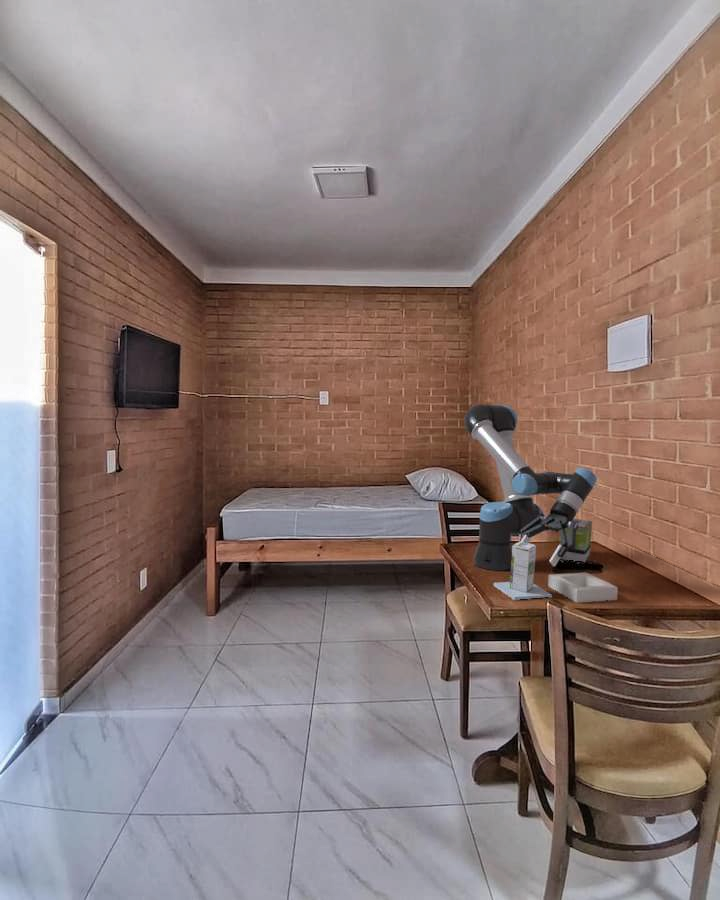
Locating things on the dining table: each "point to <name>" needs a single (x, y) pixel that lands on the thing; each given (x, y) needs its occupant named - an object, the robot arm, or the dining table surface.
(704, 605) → the dining table surface
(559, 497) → the robot arm
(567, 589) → the white tray
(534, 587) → the board
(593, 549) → the dining table surface
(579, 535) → the tea box
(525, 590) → the syrup box
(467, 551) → the dining table surface
